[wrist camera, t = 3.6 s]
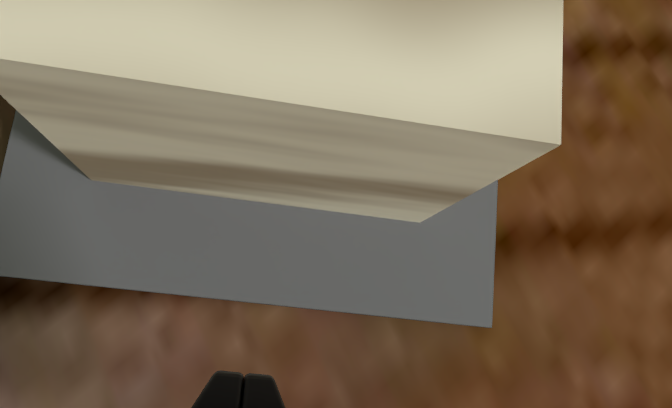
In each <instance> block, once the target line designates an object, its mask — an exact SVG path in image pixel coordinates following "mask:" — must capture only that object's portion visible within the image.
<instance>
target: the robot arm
mask: <svg viewBox="0 0 672 408" xmlns="http://www.w3.org/2000/svg"><path fill="white" fill-rule="evenodd" d="M243 380H244V381H243ZM192 408H285V406H284V403H283V401H282V398H281V396H280V393H279V390H278V388H277V385H276V383H275V380H274V379H273V377H272V376H270V375H262V374H251V373H249V374H247V375H245V377H243V375H242V374H241V373H239V372H229V371H217V372H215V373H214V374H213V376H212V377H211V379H210V380H209V382H208V383H207V385H206V386H205V388H204V389H203V391H202V392H201V394H200V395H199V397H198V398H197V400H196V402H195V403H194V405H193V406H192Z"/></svg>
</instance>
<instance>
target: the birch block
mask: <svg viewBox="0 0 672 408" xmlns="http://www.w3.org/2000/svg"><path fill="white" fill-rule="evenodd" d="M562 51H563V0H0V95H1V96H2V97H3V98H4V99H5V100H6V101H7V102H8V103H9V104H11V105H12V106H13V107H14V108H15V109H16V110H17V111H18V112H19V113H20V114H21V115H22V116H23V117H24V118H25V119H27V120H28V121H29V122H30V123H31V124H32V125H33V126H34V127H35V128H36V129H37V130H38V131H39V132H40V133H41V134H43V135H44V136H45V137H46V138H47V139H48V140H49V141H50V142H51V143H52V144H53V145H54V146H55V147H56V148H57V149H59V150H60V151H61V152H62V153H63V154H64V155H65V156H66V157H67V158H68V159H69V160H70V161H71V162H72V163H73V164H75V165H76V166H77V167H78V168H79V169H80V170H81V171H82V172H83V173H84V174H85V175H86V176H87V177H88V178H89V179H91V180H93V181H101V182H109V183H117V184H124V185H132V186H140V187H148V188H155V189H163V190H171V191H178V192H186V193H194V194H202V195H209V196H217V197H225V198H233V199H240V200H248V201H256V202H263V203H271V204H279V205H287V206H294V207H302V208H310V209H318V210H325V211H333V212H341V213H349V214H356V215H364V216H372V217H379V218H387V219H395V220H403V221H410V222H418V223H420V222H422V221H424V220H426V219H428V218H429V217H431V216H433V215H435V214H437V213H438V212H440V211H442V210H444V209H446V208H447V207H449V206H451V205H453V204H455V203H456V202H458V201H460V200H462V199H464V198H466V197H467V196H469V195H471V194H473V193H475V192H476V191H478V190H480V189H482V188H484V187H485V186H487V185H489V184H491V183H493V182H494V181H496V180H498V179H500V178H502V177H504V176H505V175H507V174H509V173H511V172H513V171H514V170H516V169H518V168H520V167H522V166H523V165H525V164H527V163H529V162H531V161H532V160H534V159H536V158H538V157H540V156H542V155H543V154H545V153H547V152H549V151H551V150H552V149H554V148H556V147H558V146H560V145H561V114H562Z"/></svg>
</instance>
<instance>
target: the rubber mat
mask: <svg viewBox="0 0 672 408" xmlns="http://www.w3.org/2000/svg"><path fill="white" fill-rule="evenodd" d="M497 187H498V180H496V181H494V182H493V183H491V184H489V185H487V186H485V187H484V188H482V189H480V190H478V191H476V192H475V193H473V194H471V195H469V196H467V197H466V198H464V199H462V200H460V201H458V202H456V203H455V204H453V205H451V206H449V207H447V208H446V209H444V210H442V211H440V212H438V213H437V214H435V215H433V216H431V217H429V218H428V219H426V220H424V221H422V222H420V223H418V222H410V221H403V220H395V219H387V218H379V217H372V216H364V215H356V214H349V213H341V212H333V211H325V210H318V209H310V208H302V207H294V206H287V205H279V204H271V203H263V202H256V201H248V200H240V199H233V198H225V197H217V196H209V195H202V194H194V193H186V192H178V191H171V190H163V189H155V188H148V187H140V186H132V185H124V184H117V183H109V182H101V181H93V180H91V179H89V178H88V177H87V176H86V175H85V174H84V173H83V172H82V171H81V170H80V169H79V168H78V167H77V166H76V165H75V164H73V163H72V162H71V161H70V160H69V159H68V158H67V157H66V156H65V155H64V154H63V153H62V152H61V151H60V150H59V149H57V148H56V147H55V146H54V145H53V144H52V143H51V142H50V141H49V140H48V139H47V138H46V137H45V136H44V135H43V134H41V133H40V132H39V131H38V130H37V129H36V128H35V127H34V126H33V125H32V124H31V123H30V122H29V121H28V120H27V119H25V118H24V117H23V116H22V115H21V114H20V113H19V112H18V111H17V110H16V112H15V116H14V120H13V125H12V129H11V133H10V138H9V142H8V146H7V151H6V155H5V159H4V164H3V168H2V172H1V176H0V276H3V277H13V278H22V279H32V280H41V281H51V282H60V283H70V284H79V285H89V286H98V287H107V288H117V289H126V290H136V291H145V292H155V293H164V294H174V295H183V296H193V297H202V298H212V299H221V300H231V301H240V302H249V303H259V304H268V305H278V306H287V307H297V308H306V309H316V310H325V311H335V312H344V313H354V314H363V315H372V316H382V317H391V318H401V319H410V320H420V321H429V322H439V323H448V324H458V325H467V326H477V327H488V328H492V313H493V288H494V263H495V237H496V212H497Z"/></svg>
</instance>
